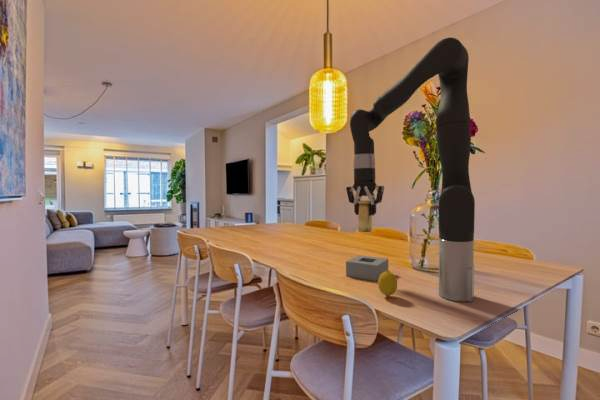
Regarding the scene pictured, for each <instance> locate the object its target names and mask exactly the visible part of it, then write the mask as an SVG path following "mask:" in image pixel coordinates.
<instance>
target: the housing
mask: <svg viewBox="0 0 600 400" xmlns="http://www.w3.org/2000/svg"><path fill="white" fill-rule="evenodd" d="M386 271H389V258H386V257H378V256H369V255H368V256H367V255H360V254H359V255H357V256H354V257H352V258H350V259H348V260H346V261H345V276H346V277H348V278H357V279H361V280H369V281H374V282H378V280H379V276H380V275H381V274H382V273H383V272H386Z"/></svg>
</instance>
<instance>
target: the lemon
mask: <svg viewBox="0 0 600 400" xmlns="http://www.w3.org/2000/svg"><path fill="white" fill-rule="evenodd" d="M377 285H378V289H379V292H380V293H382V294H383V295H385V296H386V297H387V298H389V297H391V296H392V295H394V294H395V293H396V291H397V289H398V280H397V277H396V275H395V274H394V273H393V272H390V271H389V270H388V271H386V272H383V273H382V274H381V275H380V276H379V280H378V281H377Z"/></svg>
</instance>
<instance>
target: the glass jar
mask: <svg viewBox="0 0 600 400" xmlns="http://www.w3.org/2000/svg"><path fill="white" fill-rule="evenodd" d="M357 203H358V215H357V217H358V218H357V222H358V223H357V226H358V227H357V228H358V229H357V231H358V232H359V233H372V231H373V223H372V221H373V215H371V207H370V205H371V203H370V200H369V199H367V200H365V199H364V200H363V199H362V200H360V201H357Z"/></svg>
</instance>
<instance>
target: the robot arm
mask: <svg viewBox="0 0 600 400" xmlns="http://www.w3.org/2000/svg"><path fill="white" fill-rule="evenodd" d="M468 71H469V52H468V49H466V47H465V46H464V44H463V43H462V42H461V41H460V40H459V39H458V38H455V37H446V38H443V39H441V40H439V41H438V42H437V43H435V44H434V45H433V47H431V48H430V49H429V50H428V51H427V52H426V53H425V55H423V57H422V58H420V59H419V60H418V61H417V63H415V65H414V66H413V67H412V68H411V69H410V70H409V71H408V72H406V74H405V75H404V76H402V77H401V78H400V79H399V80H398V81H396V83H395V84H393V85H392V86H391V87H390V88H388V89H387V90H386V91H384V92H383V93H382V94H380V95H379V96H378V97H377V98H376V99H374V101H373V103H372V107H371V109H369V110H368V111H367V110H364V109H356V110H354V111H353V112H352V114H351V115H350V119H349V128H350V133H351V137H352V140H353V151H354V154H353V155H354V156H353V185H352V186H347V187H346V188H345V190H346V193H347V199H348V203H351V204H353V205H354V207H353V211H354V214H355V216H358V203H357V201H360V200H361V199H362V198H363V197H367V198H368V200H369V201H370V203H371V205H370V207H371V215H372V216H375V215H376V214H377V204H379V203H382V200H383V196H384V190H385V186H384V185H377V183H376V156H375V142H374V139H373V138H372V137H371V136H370V132H371V131H374V130H375V129H377V128H378V127H379V126H380V125H381V124H382V123H383V122H384V121H385V119H386V118H388V116H390V115H391V114H392V113H394V112H395V111H397V110H398V109H399V108H401V107H402V106H403V105H405V104H406V103H407V102H408V100H410V99H411V97H412V96H413V95H414V94H415V93H416V91H417V90H418V89H419V88H420V87H421V86H423V84H425V83H426V82H427V81H429V80H430V79H432V78H434V77H435V76H437V75H438V78H439V79H438V80H439V86H440V99H439V104H438V109H437V113H436V118H435V135H436V138H435V139H436V145H437V146H436V147H437V152H438V156H439V157H438V158H439V163H440V166H441V167H440V168H441V175H442V176H441V192H440V195H439V196H438V198H439V199H438V295H439V296H440V297H441V298H443V299H445V300H449V301H455V302H470V303H472V302H473V300H474V297H475V265H474V258H475V257H474V250H475V249H474V246H475V243H474V242H475V237H474V236H475V214H476V213H475V211H476V207H475V206H476V202H475V197H474V194H473V191H472V187H471V186H472V185H471V180H470V171H469V169H470V168H469V166H470V165H469V163H470V158H471V157H470V156H471V146H472V145H471V144H472V131H471V128H472V127H471V117H470V115H471V113H470V105H469V104H470V103H469V96H468ZM375 190H376V192H377V193H376V195H375V193H374V192H375ZM354 192H355V193H354ZM354 194H355V195H354Z"/></svg>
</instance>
